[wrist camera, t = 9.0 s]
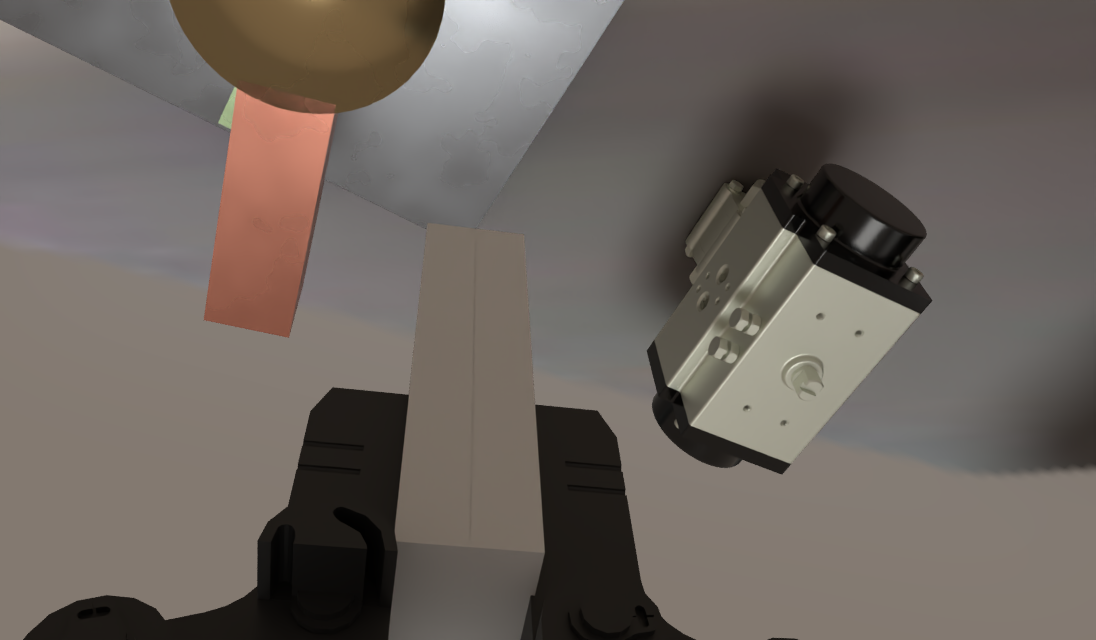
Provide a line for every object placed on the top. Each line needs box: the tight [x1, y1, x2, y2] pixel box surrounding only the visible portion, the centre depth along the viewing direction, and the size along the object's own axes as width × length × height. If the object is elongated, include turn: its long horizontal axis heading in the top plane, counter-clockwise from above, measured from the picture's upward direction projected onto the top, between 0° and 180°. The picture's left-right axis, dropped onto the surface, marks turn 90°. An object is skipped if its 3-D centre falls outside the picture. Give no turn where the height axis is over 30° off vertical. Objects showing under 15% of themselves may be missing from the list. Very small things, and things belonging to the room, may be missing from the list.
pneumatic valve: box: [647, 164, 932, 474], centre depth 38 cm, size 6×12×12 cm, turn 152°
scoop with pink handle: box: [169, 0, 445, 337], centre depth 28 cm, size 14×7×3 cm, turn 163°
